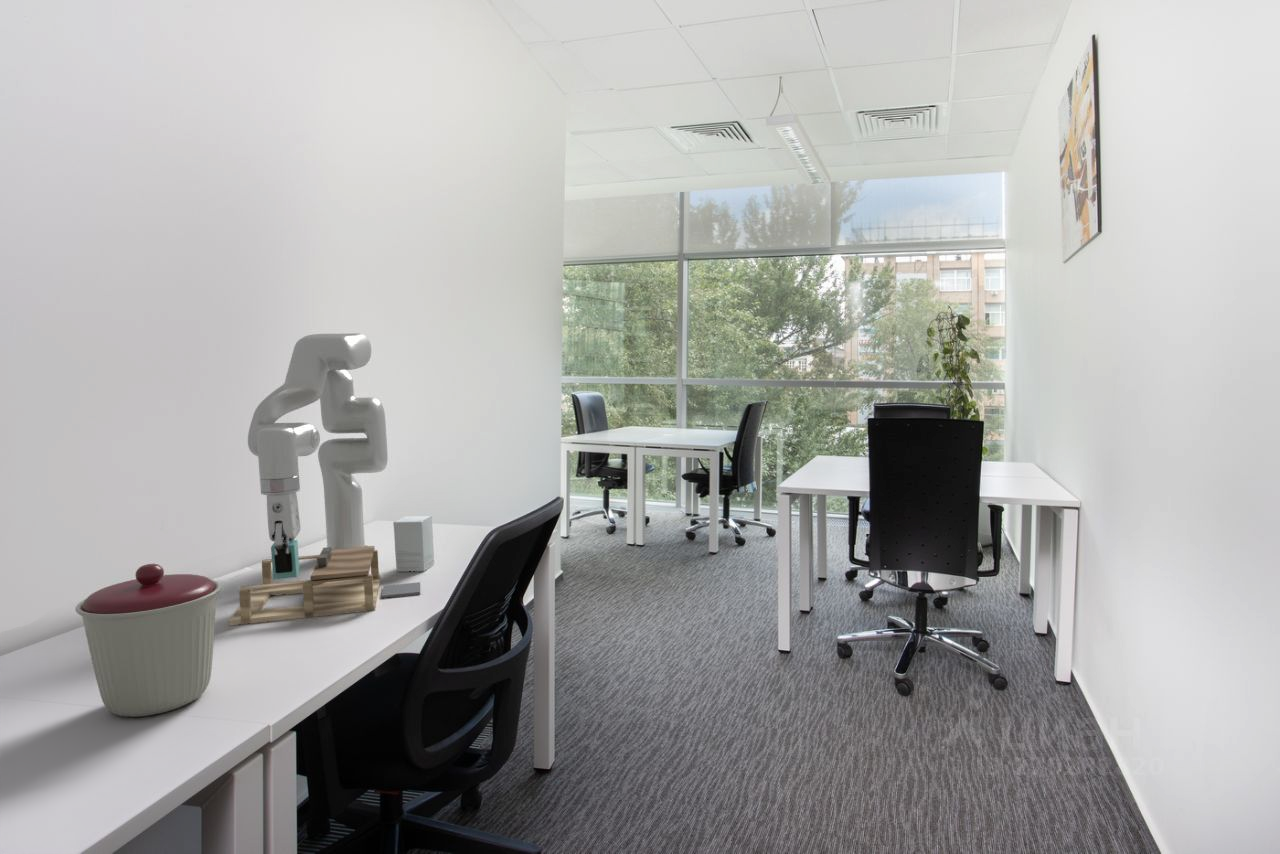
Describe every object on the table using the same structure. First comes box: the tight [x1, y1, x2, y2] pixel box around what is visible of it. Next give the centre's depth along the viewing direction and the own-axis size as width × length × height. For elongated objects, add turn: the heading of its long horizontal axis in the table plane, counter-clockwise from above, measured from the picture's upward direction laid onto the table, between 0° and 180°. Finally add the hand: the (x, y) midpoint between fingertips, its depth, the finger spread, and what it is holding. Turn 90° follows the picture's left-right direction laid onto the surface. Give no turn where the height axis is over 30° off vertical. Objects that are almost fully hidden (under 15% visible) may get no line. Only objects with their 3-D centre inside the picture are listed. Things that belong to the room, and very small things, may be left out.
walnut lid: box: [310, 545, 376, 580], centre depth 163 cm, size 24×11×3 cm, turn 17°
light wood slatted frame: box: [228, 549, 381, 626], centre depth 161 cm, size 24×27×7 cm
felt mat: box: [381, 581, 421, 599], centre depth 167 cm, size 8×8×1 cm
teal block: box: [270, 539, 301, 581], centre depth 160 cm, size 4×4×7 cm
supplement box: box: [393, 515, 435, 573], centre depth 186 cm, size 7×7×13 cm
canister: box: [75, 563, 222, 718], centre depth 112 cm, size 18×18×21 cm
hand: (286, 567), depth 160 cm, fingers closed on teal block, 4 cm apart
